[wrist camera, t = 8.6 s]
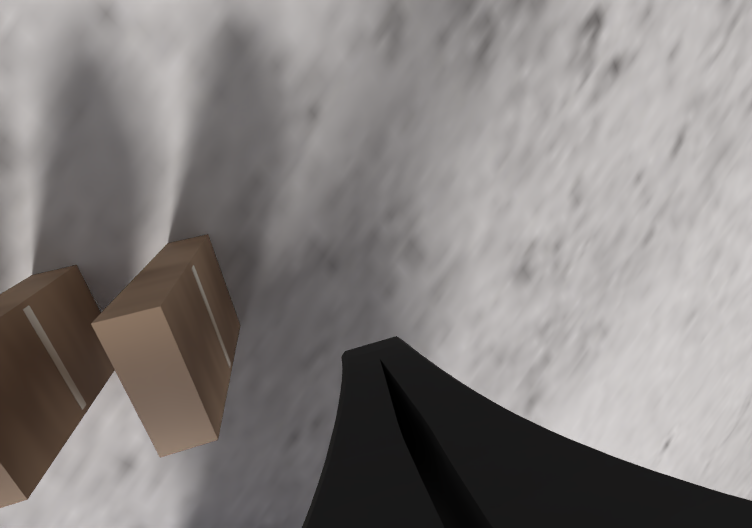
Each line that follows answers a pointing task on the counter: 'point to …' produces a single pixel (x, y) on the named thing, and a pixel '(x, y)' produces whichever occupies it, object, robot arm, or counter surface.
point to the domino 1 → (45, 373)
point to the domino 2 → (174, 344)
